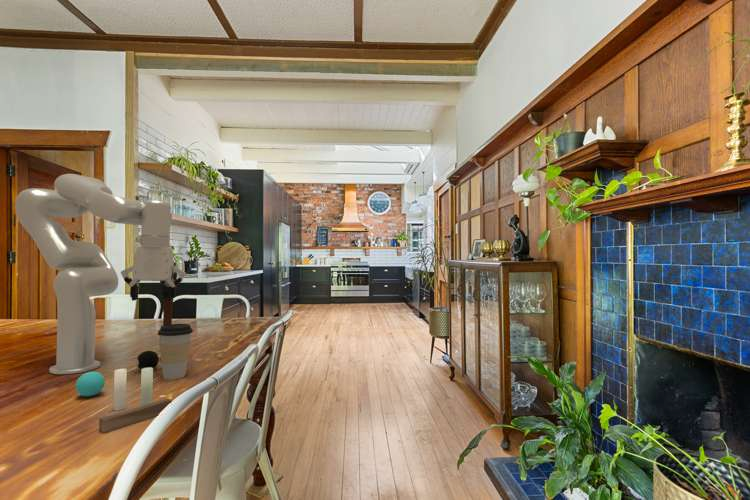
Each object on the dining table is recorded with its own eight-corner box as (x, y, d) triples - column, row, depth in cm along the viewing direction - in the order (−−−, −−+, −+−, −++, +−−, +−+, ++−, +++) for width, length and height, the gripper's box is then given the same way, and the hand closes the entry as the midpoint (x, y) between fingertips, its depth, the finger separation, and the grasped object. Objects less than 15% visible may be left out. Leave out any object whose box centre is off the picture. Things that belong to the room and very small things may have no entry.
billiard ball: (161, 370, 123) (161, 351, 123) (139, 374, 118) (140, 354, 119) (154, 366, 127) (155, 347, 127) (133, 370, 123) (134, 350, 123)
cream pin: (111, 409, 91) (112, 370, 92) (122, 406, 94) (123, 367, 94) (116, 411, 90) (117, 372, 90) (127, 408, 92) (128, 369, 92)
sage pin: (138, 407, 93) (139, 369, 93) (148, 404, 95) (149, 366, 95) (143, 409, 91) (144, 370, 92) (154, 406, 93) (155, 368, 94)
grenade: (157, 363, 131) (159, 272, 132) (156, 359, 136) (158, 272, 136) (176, 360, 134) (178, 272, 135) (174, 357, 139) (177, 272, 139)
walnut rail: (99, 430, 80) (99, 418, 80) (166, 409, 92) (166, 398, 92) (103, 433, 79) (104, 420, 79) (171, 410, 91) (171, 400, 91)
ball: (71, 396, 99) (71, 372, 99) (97, 390, 104) (98, 367, 104) (81, 401, 96) (82, 377, 96) (108, 394, 101) (109, 371, 101)
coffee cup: (155, 383, 110) (157, 329, 110) (156, 374, 119) (158, 324, 119) (192, 379, 115) (194, 327, 115) (191, 370, 123) (192, 322, 123)
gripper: (117, 240, 111) (114, 301, 111) (183, 243, 115) (181, 301, 115) (127, 241, 118) (125, 298, 118) (189, 243, 122) (187, 298, 122)
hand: (153, 300), depth 116 cm, fingers open, 9 cm apart
